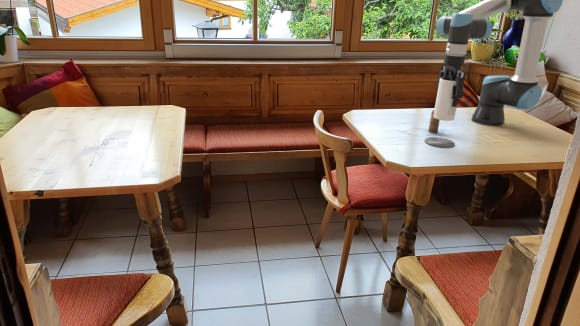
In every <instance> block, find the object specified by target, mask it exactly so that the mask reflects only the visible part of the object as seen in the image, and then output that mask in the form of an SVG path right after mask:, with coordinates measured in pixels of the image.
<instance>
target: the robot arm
mask: <svg viewBox="0 0 580 326" xmlns="http://www.w3.org/2000/svg"><path fill="white" fill-rule="evenodd" d="M563 1H564V0H483V1H480V2H479V3H476V4H474V5H472V6H470V7H468V8H465V9H463V10H461V11H459V12H455V13H453V14H452V15H450V16H449V15H443V16H440V17H439V18H438V19H437V21H436V24H435V25H436V32H437V33H438V34H440V35H444V36H448V37H447V43H446V49H445V55H444V60H443V64H444V65H445V66H440V67H439V74H438V77H437V81H436V85H435V89H434V90H435V91H437V92H438V87H439V81H440V78H442V77H443V80H448V81H457V82H456V86H455V85H453V89H452V97H451V99H450V105H449V110H448V114H449V115H453V114H455V115H456V112H455V110H456V111H457V106H458V102H459V99H463V98H464V97H463V96H464V86H465V85H464V83H465V77H466V72H464V71H462V69H461V67H463V66H464V65H465V61H466V56H465V55H467V50H468V44H469V40H474V39H475V40H481V39H487V38H488V37H490V36H491V34H492V33H493V30H494V28H493V27H494V26H493V23H492V21H491V20H490V17H491V18H492V16H495V15H497V14H499V13H500V14H503V13H506V12H509V11H519V12H522V19H524V25H523V30H522V35H521V41H520V45H519V50H518V56H517V60H516V66H515V71H514V75H512V76H510V75H487V76H485V77H483V81H482V84H481V89H480V95H479V99H478V105H477V106H476V109H475V110H474V112H473V114H472V115H471V121H472V122H474V123H477V124H480V125H485V126H491V127H492V126H494V127H495V126H496V127H499V126H500V127H501V126H503V124H505V121H506V119H505V111H504V108H505V106H508V107H513V108H515V109H518V110H523V111H524V110H525V111H528V110H531V109H532V108H534V107H535V106H536V105H537V104H538V102H539V101H540V99H541V97H542V94H543V90H542V86H540V85H539V79H538V77H537V71H538V67H539V63H540V58H541V53H542V48H543V44H544V39H545V37H546V36H545V35H546V31H547V25H548V23H549V22H548V21H549V20H551V19H552V18H553V17H554V14H555V13H557V12H558V11H559V10H560V9H561V7H562V4H563Z"/></svg>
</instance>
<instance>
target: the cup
mask: <svg viewBox="0 0 580 326" xmlns="http://www.w3.org/2000/svg"><path fill="white" fill-rule="evenodd" d="M456 82H457V81H448V80H443V77H442V78H440V81H439V87H438V92H437V94H436V99H435V104H434V109H433V110H434V115H433V117H434V118H436V119H439V120H440V121H446V122H448V121H449V122H451V121H455V117H456V112H457V109H456V110H455V114H453V115H449V114H448V110H449V105H450V99H451V97H452V89H453V85H455V86H456Z"/></svg>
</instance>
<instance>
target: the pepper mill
mask: <svg viewBox="0 0 580 326" xmlns="http://www.w3.org/2000/svg"><path fill="white" fill-rule="evenodd" d="M434 110H435V109H433V110H432V111H431V115H430V120H429V126H428V132H429V133H432V134H437V133H438V132H439V126H440V125H439V124H440V121H441V120H439V119H436V118H434V117H433V115H434Z"/></svg>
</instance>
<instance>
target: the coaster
mask: <svg viewBox="0 0 580 326" xmlns="http://www.w3.org/2000/svg"><path fill="white" fill-rule="evenodd" d="M424 143H425V144H427V145H428V146H430V147H431V146H432V147H434V148H439V149H440V148H441V149H442V148H443V149H450V148H453V147H454V146H455V144H456V143H455V142H454V141H452V140H451V139H448V138H443V137H437V136H430V137H427V138H425V139H424Z"/></svg>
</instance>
